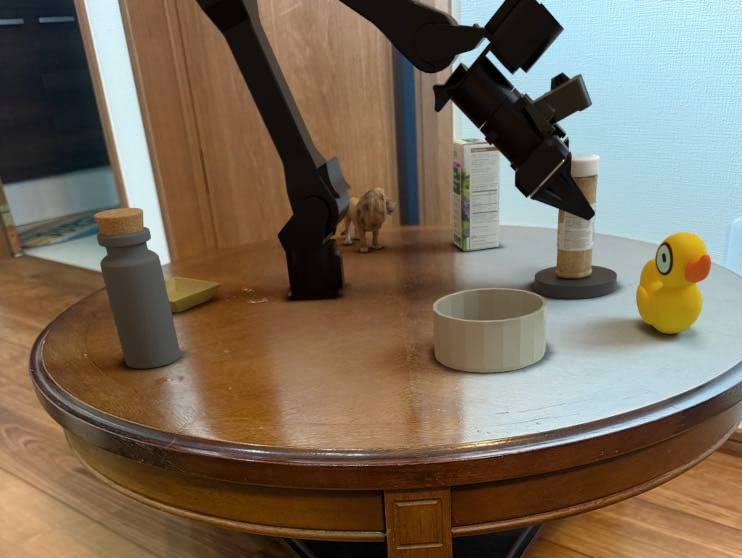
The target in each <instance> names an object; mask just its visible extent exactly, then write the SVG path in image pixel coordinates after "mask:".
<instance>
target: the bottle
mask: <svg viewBox="0 0 742 558" xmlns="http://www.w3.org/2000/svg"><path fill="white" fill-rule="evenodd" d="M93 219H94V221H95V223H96V225H97V228H98V229H99V233H97V234H96V240H97V242H98V245H99V246H100V247H102V248H105V250H106V255H105V256H104V257H102V259H101V260H100V263H99V264H100V265H99V266H100V270H101V274H102V279H103V282H104V286H105V289H106V293H107V297H108V301H109V305H110V309H111V312H112V316H113V320H114V325H115V327H116V333H117V336H118V340H119V344H120V347H121V350H122V354H123V358H124V361H125V364H126V366H128V367H130V368H133V369H154V368H159V367H162V366H163V367H164V366H167V365H169V364H172V363H174V362H176V361H178V359H179V358H181V350H180V344H179V340H178V336H177V335H178V334H177V329H176V327H175V321H174V317H173V312H171V307H170V303H169V298H168V294H167V289H166V285H165V280H166V279H165V276H164V272H163V267H162V263H161V259H160V256H159V254H158V253H156V252H155V251H154V250H151V249H149V248H148V244H147V242H149V241H150V240H151V239H152V235H151V230H150V229H149V227H146V226H144V209H142V208H138V207H122V208H113V209H108V210H103V211H99V212H96V213H95V214H93Z"/></svg>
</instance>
